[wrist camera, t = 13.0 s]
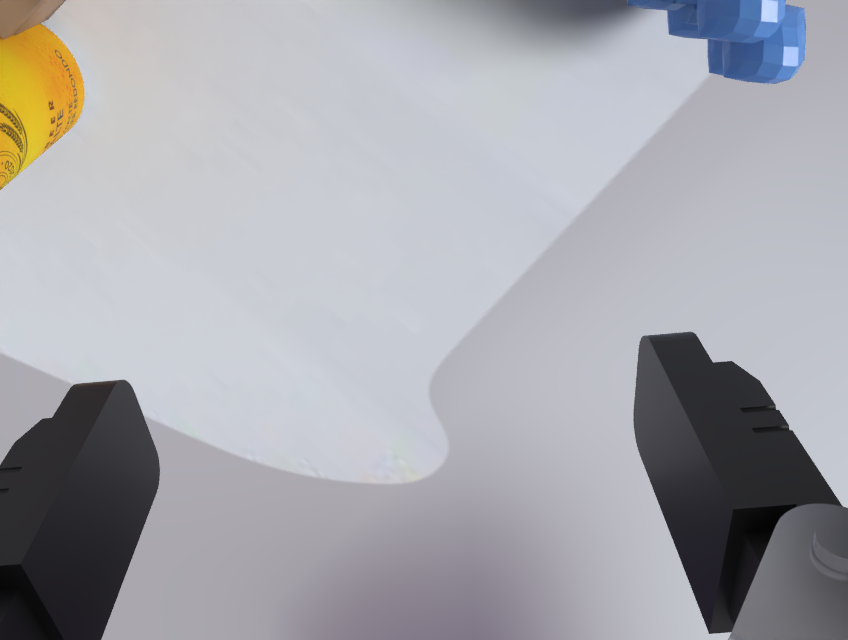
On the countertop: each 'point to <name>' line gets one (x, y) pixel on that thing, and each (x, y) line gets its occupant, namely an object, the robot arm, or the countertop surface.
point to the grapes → (741, 35)
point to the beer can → (35, 97)
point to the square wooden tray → (24, 14)
